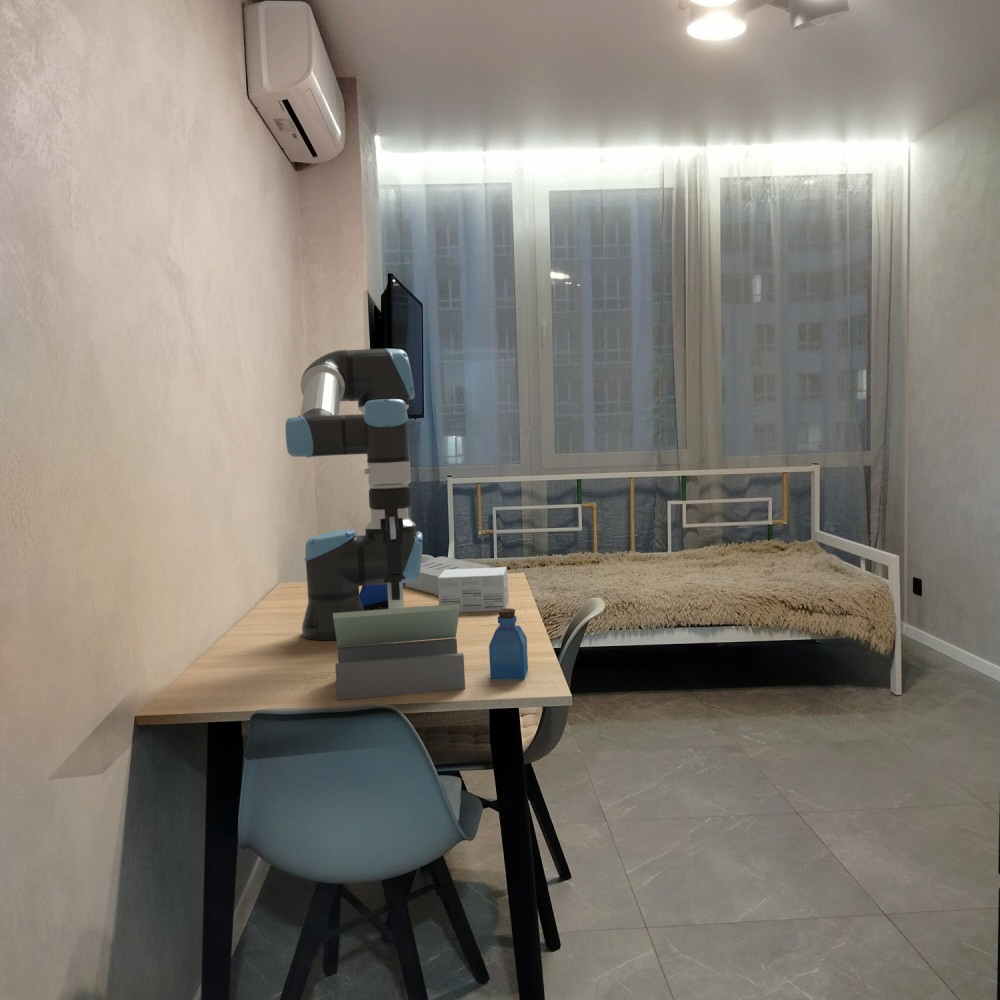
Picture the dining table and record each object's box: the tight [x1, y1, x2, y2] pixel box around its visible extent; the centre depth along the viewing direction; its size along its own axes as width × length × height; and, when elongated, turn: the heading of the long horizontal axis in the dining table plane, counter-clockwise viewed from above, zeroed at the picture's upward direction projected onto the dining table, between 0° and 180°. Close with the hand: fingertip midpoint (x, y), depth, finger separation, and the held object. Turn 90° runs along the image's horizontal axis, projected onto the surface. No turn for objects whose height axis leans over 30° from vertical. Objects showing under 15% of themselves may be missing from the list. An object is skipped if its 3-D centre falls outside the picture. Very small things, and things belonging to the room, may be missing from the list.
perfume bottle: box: [488, 607, 529, 680], centre depth 158 cm, size 6×6×12 cm
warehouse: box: [404, 555, 494, 596], centre depth 251 cm, size 30×14×8 cm, turn 33°
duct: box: [334, 638, 466, 701], centre depth 155 cm, size 13×22×6 cm, turn 99°
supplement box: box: [437, 566, 510, 613], centre depth 222 cm, size 17×13×9 cm
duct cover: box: [333, 604, 461, 648], centre depth 156 cm, size 13×22×1 cm
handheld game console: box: [359, 583, 405, 611], centre depth 226 cm, size 16×13×9 cm
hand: (396, 616), depth 155 cm, fingers closed
